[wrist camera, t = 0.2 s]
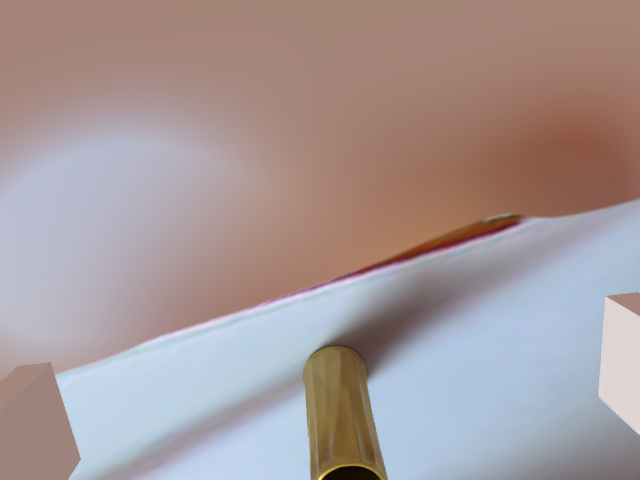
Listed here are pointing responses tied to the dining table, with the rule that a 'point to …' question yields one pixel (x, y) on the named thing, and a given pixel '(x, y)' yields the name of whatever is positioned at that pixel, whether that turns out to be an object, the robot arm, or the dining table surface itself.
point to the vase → (340, 418)
